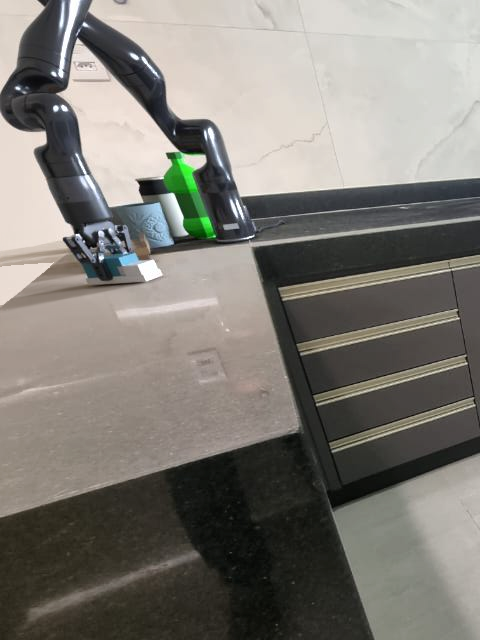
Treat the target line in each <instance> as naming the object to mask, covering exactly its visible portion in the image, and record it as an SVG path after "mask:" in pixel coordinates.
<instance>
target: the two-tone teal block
mask: <svg viewBox="0 0 480 640" xmlns="http://www.w3.org/2000/svg"><path fill="white" fill-rule="evenodd" d="M94 257H95V258H97V257H96V256H94ZM104 261H105V263H106V264H107V266H108V268H109V270H110V272H111V274H112V277H113V280H110V281H101V280H100V279H99V278H98V277H97V274H96V273H95V271H94V269H93V267H92V265H90V264H81V263H80V264H81V267H82V269H83V271H84V273H85V274H86V277H87V278H85V281H86V282H87V284H88V286H97V285H99V286H100V285H111V284H112V285H113V284H114V285H115V284H129V283H143V282H144V283H145V282H148V281H151V280H154V279H156V278H159V277H161V276H163V273H162V271H161V268H158V266H157V264H156V261H155V260H154V259H151V260H141V261H139V260H138V257H137V255H136V253H123V254H107V255H104Z"/></svg>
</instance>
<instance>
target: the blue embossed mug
mask: <svg viewBox="0 0 480 640" xmlns="http://www.w3.org/2000/svg"><path fill="white" fill-rule="evenodd" d="M114 210H115V212H116V213H117V215H118V217H119V218H120V219H121V221H122V224H123V225H126V226H127V228H128V232H129V235H130V238H131V240H134V239H140V232H144V233H145V235H146V237H147V240H148V242H149V245H150V249H157V248H163V247H164V248H165V247H169V246H172V245H174V244H175V241H174V238H173V237H172V234H171V232H170V230H169V226H168V223H167V221H166V219H165V216H164V213H163V210H162V207H161V204H160V202H145V203H144V202H137V203H129V204H123V205H116V206H114Z"/></svg>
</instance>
